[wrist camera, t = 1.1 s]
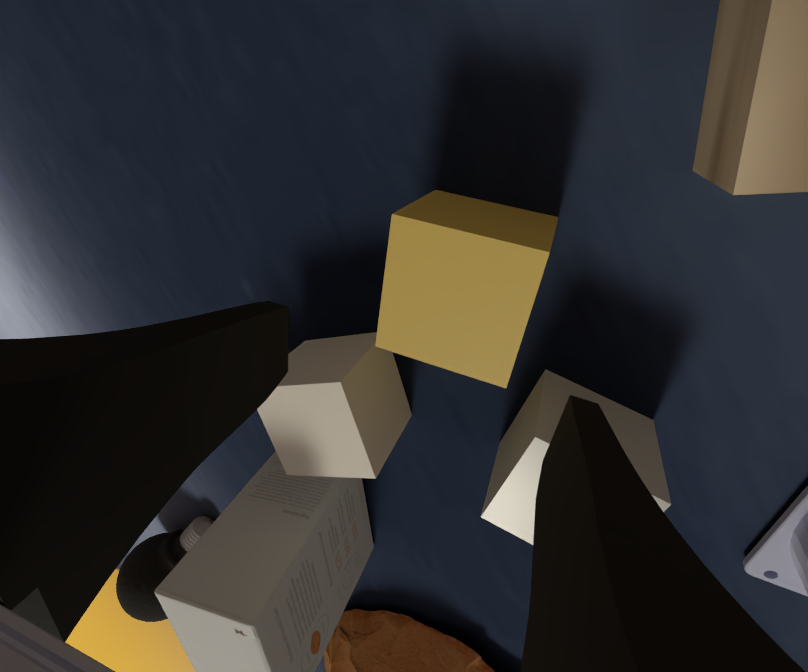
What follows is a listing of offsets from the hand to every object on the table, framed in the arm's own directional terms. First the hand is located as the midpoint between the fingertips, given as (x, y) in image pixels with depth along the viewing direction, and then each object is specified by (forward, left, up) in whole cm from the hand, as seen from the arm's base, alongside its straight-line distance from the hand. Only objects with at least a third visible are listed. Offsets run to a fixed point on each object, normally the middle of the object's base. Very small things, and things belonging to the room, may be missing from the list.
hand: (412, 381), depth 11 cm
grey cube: (-6, +7, -10) cm, 13 cm away
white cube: (+5, +8, -10) cm, 13 cm away
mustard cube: (0, 0, -10) cm, 10 cm away
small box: (+6, +18, -10) cm, 21 cm away
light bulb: (+19, +30, -10) cm, 37 cm away
